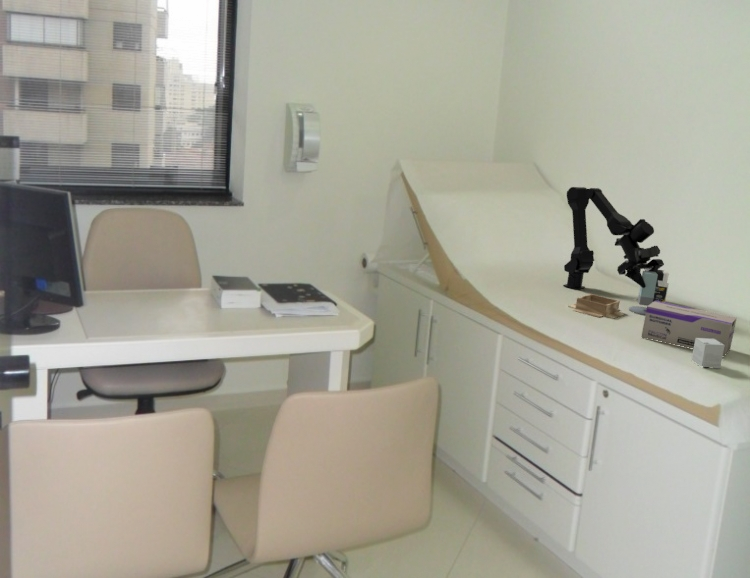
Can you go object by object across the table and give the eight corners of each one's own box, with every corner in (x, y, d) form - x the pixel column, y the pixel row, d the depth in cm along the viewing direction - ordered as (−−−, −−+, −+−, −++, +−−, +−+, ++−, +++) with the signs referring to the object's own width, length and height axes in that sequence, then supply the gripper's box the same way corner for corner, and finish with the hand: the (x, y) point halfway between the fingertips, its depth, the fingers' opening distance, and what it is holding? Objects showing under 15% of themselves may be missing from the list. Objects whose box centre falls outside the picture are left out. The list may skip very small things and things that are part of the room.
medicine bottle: (644, 301, 313) (650, 270, 310) (646, 297, 319) (651, 267, 316) (664, 304, 310) (670, 273, 307) (665, 301, 317) (671, 270, 314)
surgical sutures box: (641, 338, 263) (647, 306, 260) (649, 331, 272) (655, 300, 269) (723, 358, 250) (730, 324, 248) (729, 350, 259) (736, 317, 257)
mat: (635, 306, 303) (635, 304, 303) (662, 313, 297) (662, 311, 297) (624, 310, 296) (624, 308, 296) (651, 317, 290) (651, 315, 290)
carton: (585, 301, 303) (587, 291, 302) (629, 312, 293) (631, 301, 292) (563, 308, 291) (565, 297, 290) (608, 320, 280) (610, 308, 279)
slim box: (637, 301, 298) (642, 270, 295) (649, 303, 298) (655, 272, 295) (639, 304, 294) (645, 273, 291) (651, 306, 294) (657, 274, 291)
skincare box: (709, 361, 244) (714, 338, 242) (720, 369, 238) (725, 344, 237) (690, 361, 243) (695, 337, 241) (701, 368, 237) (706, 343, 236)
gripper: (629, 238, 288) (648, 276, 282) (664, 237, 298) (684, 274, 292) (608, 255, 297) (627, 292, 291) (643, 253, 307) (662, 290, 300)
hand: (650, 287), depth 293 cm, fingers closed on slim box, 6 cm apart
